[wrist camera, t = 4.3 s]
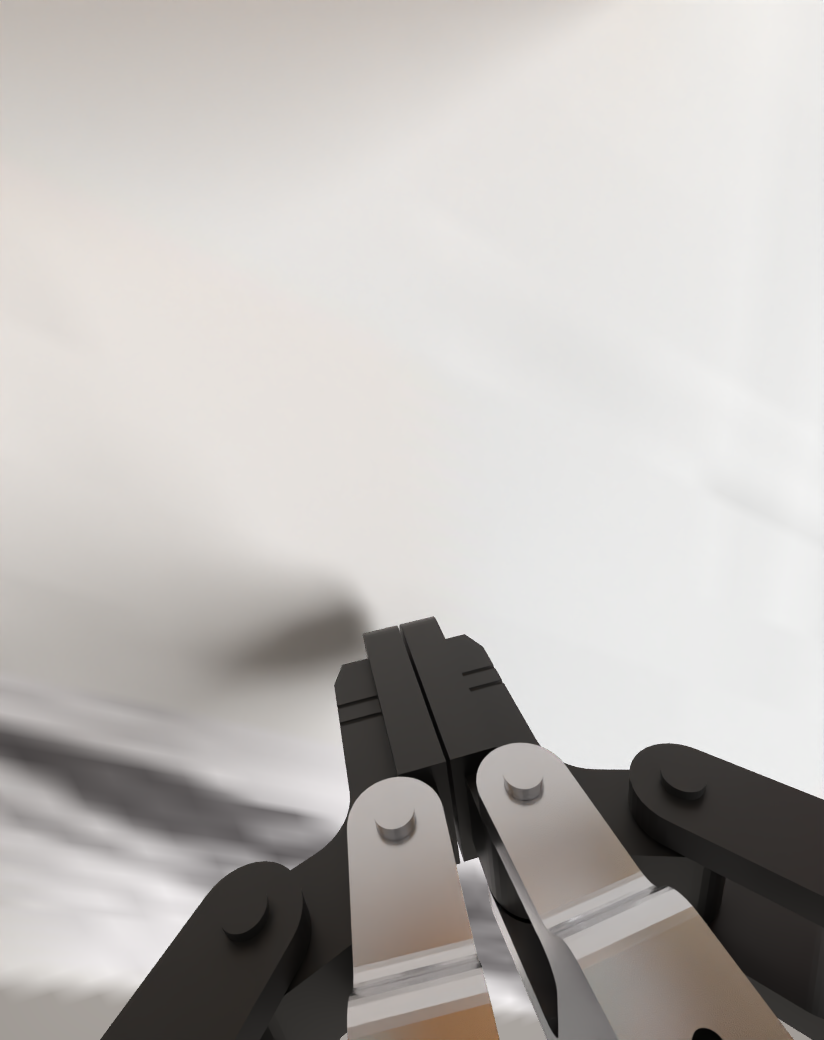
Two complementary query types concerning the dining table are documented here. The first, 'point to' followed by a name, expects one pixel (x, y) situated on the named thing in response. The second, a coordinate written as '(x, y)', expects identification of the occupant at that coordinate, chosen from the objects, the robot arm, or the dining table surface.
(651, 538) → the dining table surface
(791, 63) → the dining table surface
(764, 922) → the robot arm
